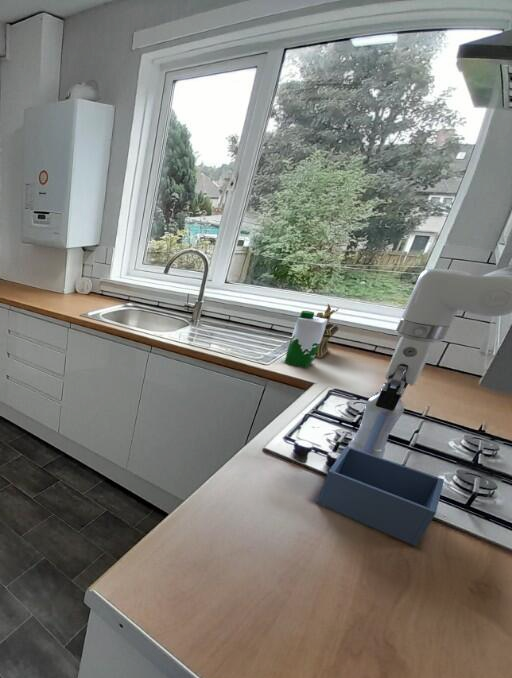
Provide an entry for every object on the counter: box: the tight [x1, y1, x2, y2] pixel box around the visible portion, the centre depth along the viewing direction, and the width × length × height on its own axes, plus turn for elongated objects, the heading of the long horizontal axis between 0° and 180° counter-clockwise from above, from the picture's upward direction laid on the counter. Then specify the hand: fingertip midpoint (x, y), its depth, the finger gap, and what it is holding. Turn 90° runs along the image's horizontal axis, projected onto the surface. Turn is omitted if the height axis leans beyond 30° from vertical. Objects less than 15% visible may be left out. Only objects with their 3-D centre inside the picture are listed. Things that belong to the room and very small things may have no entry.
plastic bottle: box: [347, 382, 406, 459], centre depth 96 cm, size 6×7×20 cm
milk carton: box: [284, 310, 328, 369], centre depth 155 cm, size 9×9×20 cm
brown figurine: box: [314, 303, 340, 358], centre depth 169 cm, size 20×10×20 cm, turn 133°
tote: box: [315, 445, 445, 547], centre depth 83 cm, size 16×15×8 cm
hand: (388, 401), depth 93 cm, fingers open, 9 cm apart
